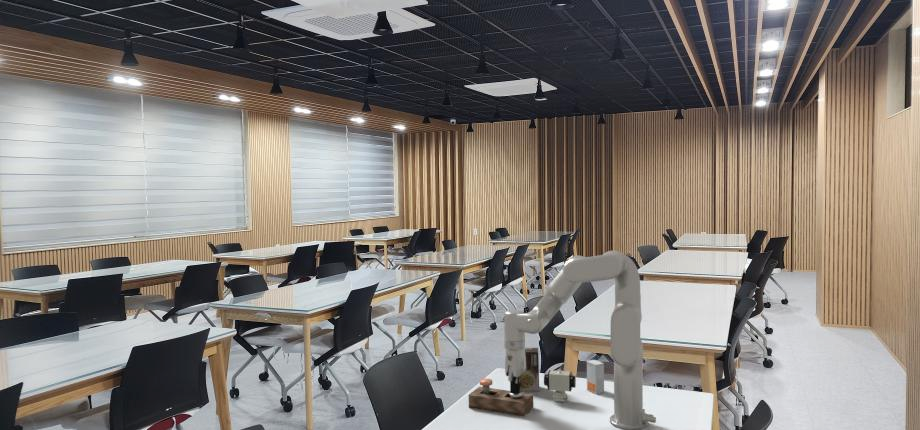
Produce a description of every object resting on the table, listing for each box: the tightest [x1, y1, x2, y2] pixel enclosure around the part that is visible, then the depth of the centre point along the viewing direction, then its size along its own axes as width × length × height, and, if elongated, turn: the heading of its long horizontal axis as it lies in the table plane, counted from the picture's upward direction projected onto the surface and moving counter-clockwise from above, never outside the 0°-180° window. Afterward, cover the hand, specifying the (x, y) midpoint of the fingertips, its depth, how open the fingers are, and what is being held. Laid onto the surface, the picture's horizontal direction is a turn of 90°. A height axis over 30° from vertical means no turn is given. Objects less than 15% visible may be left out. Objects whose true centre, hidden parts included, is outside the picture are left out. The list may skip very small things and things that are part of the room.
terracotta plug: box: [479, 378, 493, 395], centre depth 228 cm, size 5×5×5 cm
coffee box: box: [520, 347, 540, 392], centre depth 246 cm, size 9×6×16 cm
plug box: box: [468, 386, 534, 418], centre depth 226 cm, size 22×10×5 cm, turn 64°
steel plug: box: [509, 391, 523, 399], centre depth 223 cm, size 5×5×5 cm
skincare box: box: [586, 359, 605, 395], centre depth 241 cm, size 6×4×12 cm
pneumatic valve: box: [543, 369, 577, 403], centre depth 232 cm, size 6×12×12 cm, turn 74°
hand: (515, 392), depth 223 cm, fingers closed
